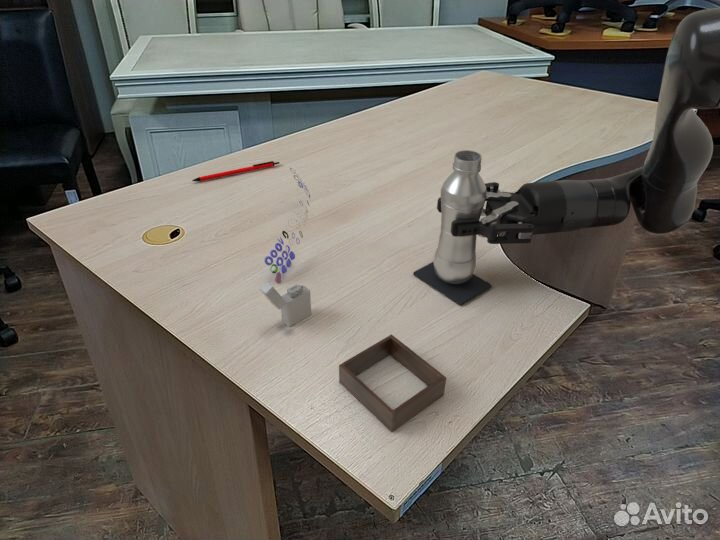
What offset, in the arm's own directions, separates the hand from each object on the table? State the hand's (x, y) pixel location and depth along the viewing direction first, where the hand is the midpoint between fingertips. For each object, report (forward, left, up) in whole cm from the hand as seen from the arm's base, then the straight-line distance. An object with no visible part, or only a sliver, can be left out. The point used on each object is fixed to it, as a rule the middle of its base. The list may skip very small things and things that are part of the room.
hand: (445, 216), depth 75 cm
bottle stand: (-11, +20, -12) cm, 26 cm away
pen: (+53, +5, -12) cm, 55 cm away
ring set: (+24, +10, -12) cm, 28 cm away
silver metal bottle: (-1, -2, -11) cm, 11 cm away
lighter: (+7, +23, -12) cm, 27 cm away
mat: (-1, -2, -12) cm, 12 cm away
